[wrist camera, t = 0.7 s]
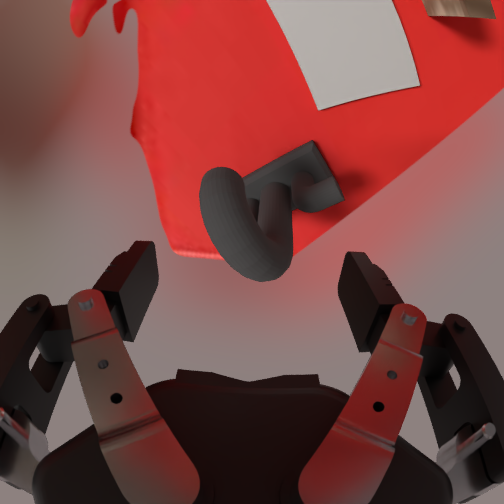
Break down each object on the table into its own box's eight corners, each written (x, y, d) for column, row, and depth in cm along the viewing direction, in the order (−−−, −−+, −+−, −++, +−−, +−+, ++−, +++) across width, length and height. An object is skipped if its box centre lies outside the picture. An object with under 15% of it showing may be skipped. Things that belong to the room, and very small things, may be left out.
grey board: (246, -33, 19) (245, -35, 19) (358, -57, 14) (359, -59, 13) (317, 108, 32) (318, 110, 32) (416, 84, 27) (420, 85, 27)
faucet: (287, 93, 32) (296, 149, 17) (341, 183, 40) (373, 286, 25) (182, 160, 40) (126, 252, 25) (243, 230, 48) (227, 334, 33)
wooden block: (416, -13, 17) (456, -20, 10) (441, -13, 15) (484, -16, 8) (428, 15, 20) (470, 17, 12) (452, 15, 18) (496, 19, 11)
